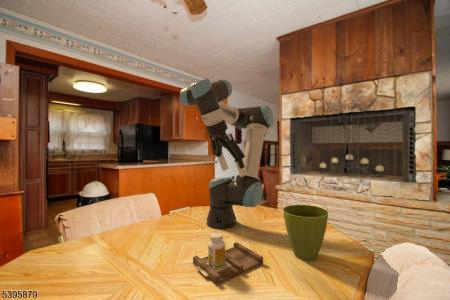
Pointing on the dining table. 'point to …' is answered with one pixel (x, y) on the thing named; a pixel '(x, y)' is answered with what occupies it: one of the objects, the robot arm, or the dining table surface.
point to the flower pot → (305, 229)
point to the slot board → (230, 264)
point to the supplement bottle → (216, 251)
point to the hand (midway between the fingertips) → (234, 172)
